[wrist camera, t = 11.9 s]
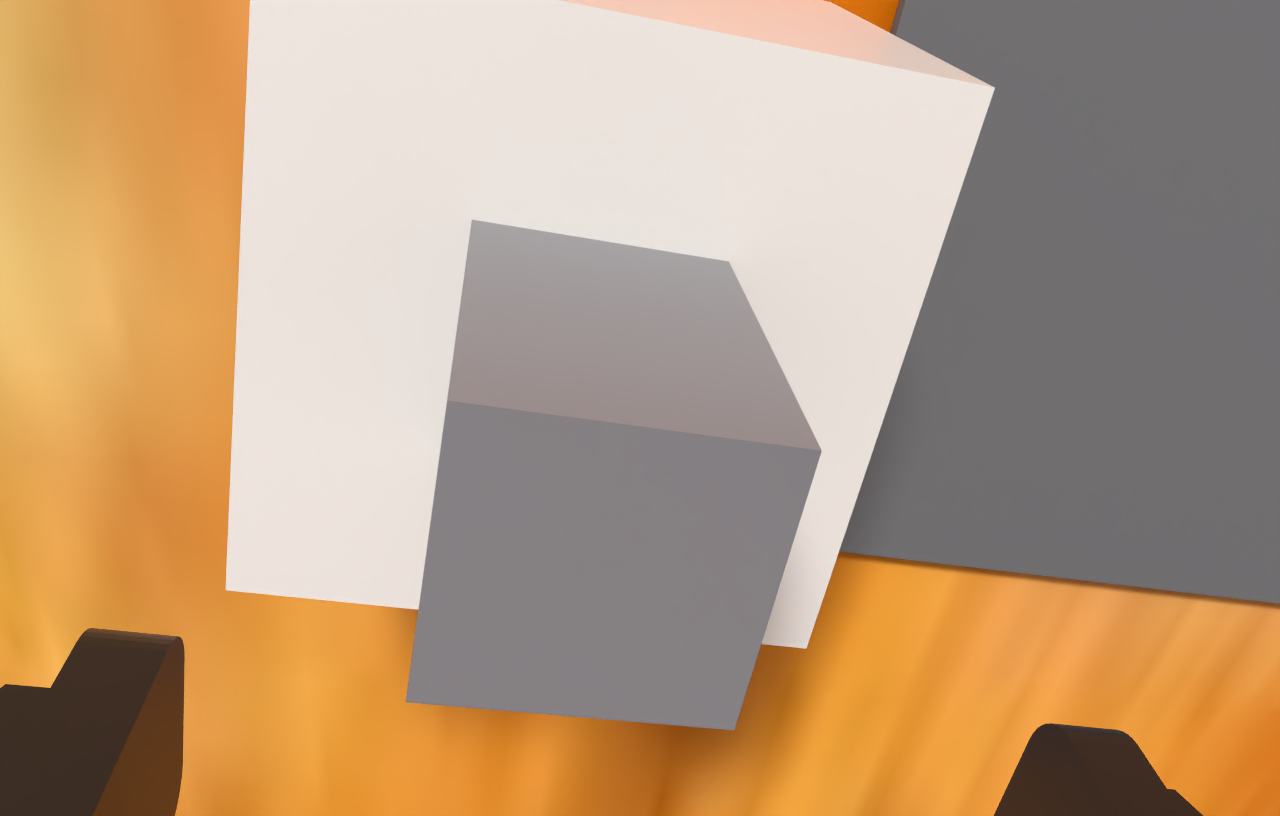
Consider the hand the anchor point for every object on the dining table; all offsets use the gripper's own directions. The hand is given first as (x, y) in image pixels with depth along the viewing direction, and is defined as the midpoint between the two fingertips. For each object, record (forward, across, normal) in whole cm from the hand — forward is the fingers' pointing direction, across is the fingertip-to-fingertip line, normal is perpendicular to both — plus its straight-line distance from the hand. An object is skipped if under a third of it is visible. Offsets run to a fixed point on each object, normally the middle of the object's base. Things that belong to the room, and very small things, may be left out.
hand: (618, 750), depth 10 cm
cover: (+18, 0, 0) cm, 18 cm away
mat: (+18, -16, 0) cm, 24 cm away
